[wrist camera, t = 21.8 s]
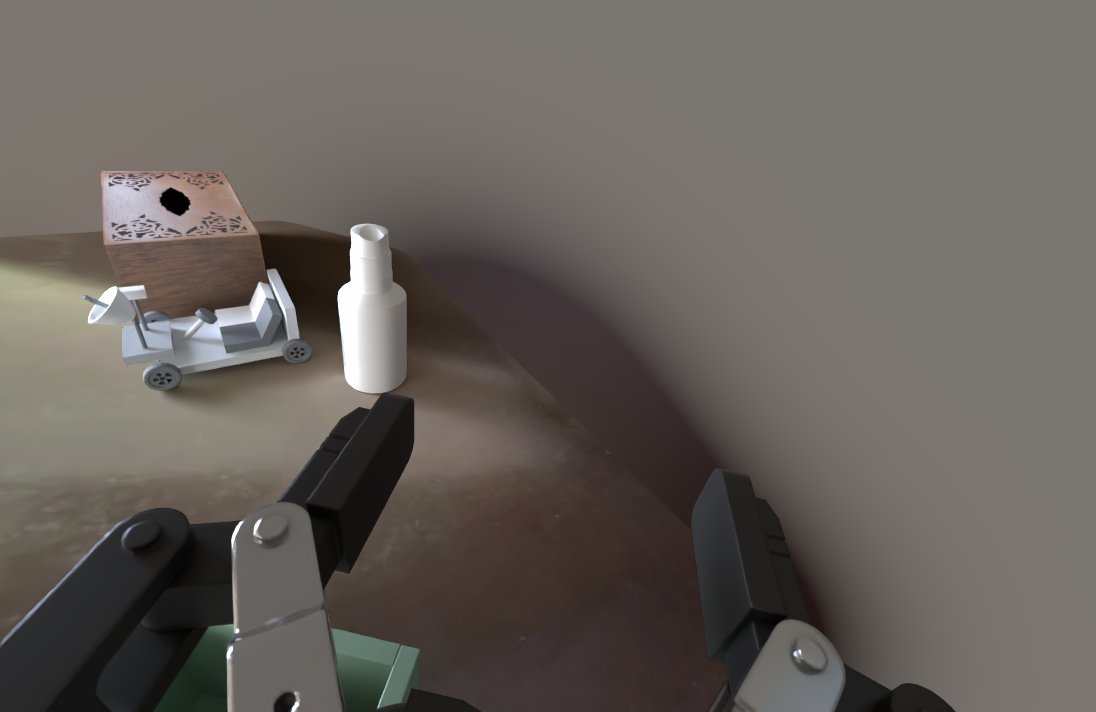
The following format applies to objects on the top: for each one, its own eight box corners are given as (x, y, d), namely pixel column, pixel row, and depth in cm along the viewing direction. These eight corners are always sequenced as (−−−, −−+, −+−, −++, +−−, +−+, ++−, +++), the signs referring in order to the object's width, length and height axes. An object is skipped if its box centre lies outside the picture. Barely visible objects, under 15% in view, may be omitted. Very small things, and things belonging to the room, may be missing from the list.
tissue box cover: (125, 239, 71) (100, 171, 65) (236, 231, 79) (223, 170, 73) (134, 324, 55) (103, 245, 50) (271, 304, 63) (258, 234, 58)
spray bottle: (400, 356, 59) (399, 217, 49) (412, 389, 54) (413, 244, 44) (342, 362, 56) (327, 216, 46) (349, 399, 51) (334, 245, 41)
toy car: (73, 315, 40) (80, 258, 47) (114, 401, 46) (114, 339, 53) (303, 287, 50) (280, 243, 57) (313, 360, 56) (291, 312, 63)
